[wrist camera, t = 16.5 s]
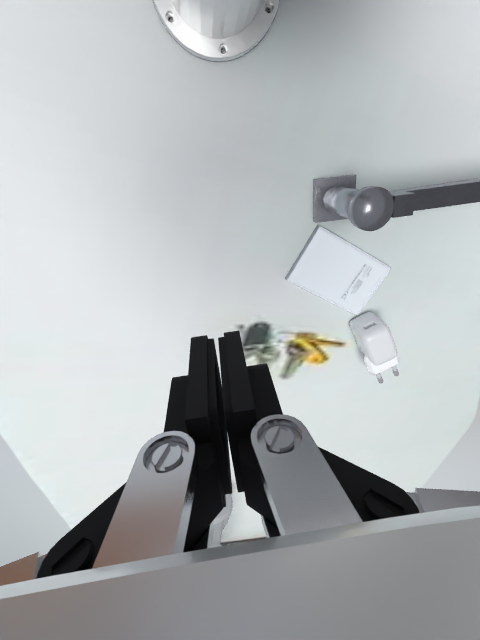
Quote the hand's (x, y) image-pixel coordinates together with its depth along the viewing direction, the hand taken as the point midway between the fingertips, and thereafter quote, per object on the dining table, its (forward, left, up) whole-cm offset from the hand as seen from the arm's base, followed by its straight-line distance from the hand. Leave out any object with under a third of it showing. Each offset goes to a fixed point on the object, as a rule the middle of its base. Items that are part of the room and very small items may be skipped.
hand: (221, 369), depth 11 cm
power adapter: (+21, +22, -32) cm, 44 cm away
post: (-1, +16, -32) cm, 36 cm away
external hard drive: (+9, +17, -33) cm, 38 cm away
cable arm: (-1, +27, -25) cm, 37 cm away
